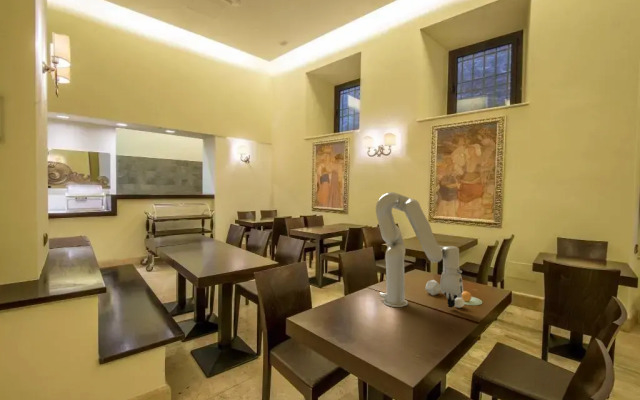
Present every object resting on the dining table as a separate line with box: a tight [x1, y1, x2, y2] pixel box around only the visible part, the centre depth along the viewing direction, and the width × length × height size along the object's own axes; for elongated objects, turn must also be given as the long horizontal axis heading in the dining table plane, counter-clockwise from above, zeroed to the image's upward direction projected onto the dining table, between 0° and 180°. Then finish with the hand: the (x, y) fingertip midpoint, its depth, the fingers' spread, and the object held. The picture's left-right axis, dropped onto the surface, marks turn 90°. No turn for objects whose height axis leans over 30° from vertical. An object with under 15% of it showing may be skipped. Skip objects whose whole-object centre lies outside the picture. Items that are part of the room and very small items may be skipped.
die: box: [424, 279, 441, 296], centre depth 177 cm, size 8×9×10 cm
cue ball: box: [454, 298, 466, 309], centre depth 156 cm, size 6×6×6 cm
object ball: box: [461, 290, 473, 302], centre depth 164 cm, size 6×6×6 cm
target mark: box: [464, 296, 483, 306], centre depth 165 cm, size 14×14×1 cm
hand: (451, 306), depth 153 cm, fingers closed
